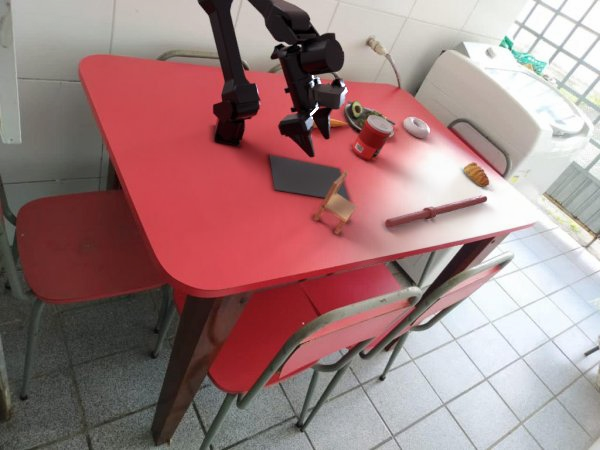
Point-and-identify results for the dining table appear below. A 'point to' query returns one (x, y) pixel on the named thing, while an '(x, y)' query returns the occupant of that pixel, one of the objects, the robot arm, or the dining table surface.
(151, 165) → the dining table surface
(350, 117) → the salad plate
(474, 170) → the pastry
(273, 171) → the mat
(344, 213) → the toy chair
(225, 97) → the robot arm
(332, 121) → the carrot
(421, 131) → the donut
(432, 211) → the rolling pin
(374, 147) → the canned food
